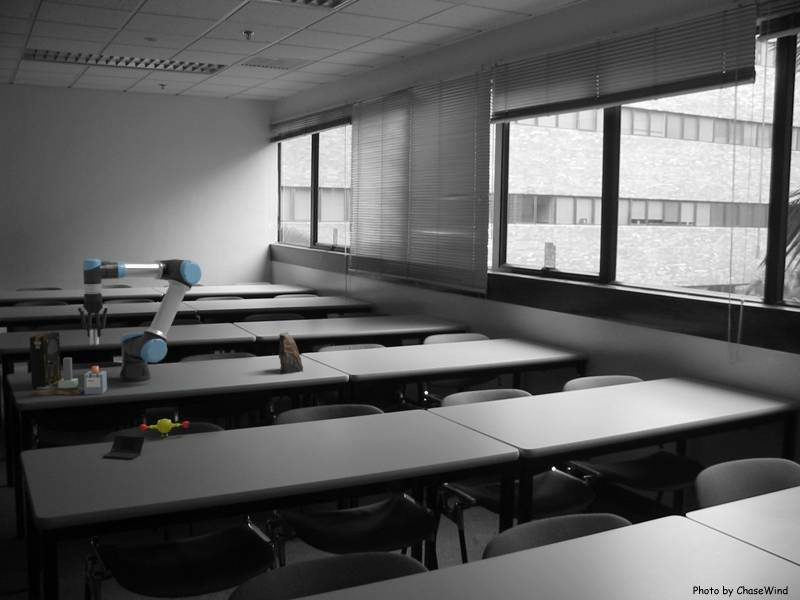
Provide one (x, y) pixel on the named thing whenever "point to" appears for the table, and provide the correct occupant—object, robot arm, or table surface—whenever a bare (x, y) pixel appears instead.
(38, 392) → the rail bed
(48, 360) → the black upright box
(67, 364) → the grey post stand
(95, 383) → the gauge cabinet
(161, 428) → the toy figure
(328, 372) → the table surface
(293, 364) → the brown rock
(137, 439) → the black laptop
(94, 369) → the reset pin
